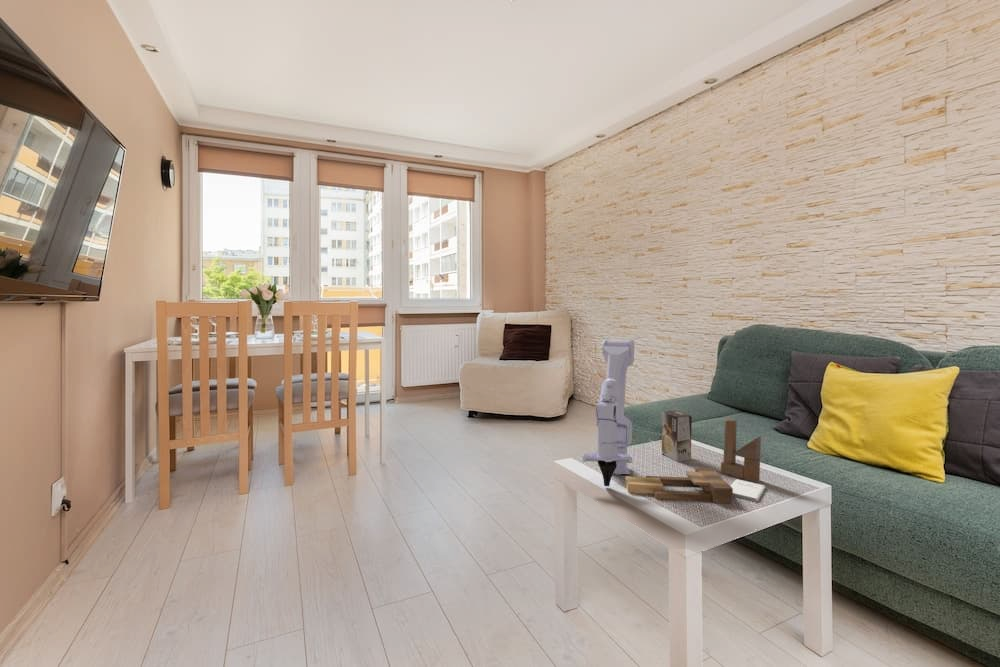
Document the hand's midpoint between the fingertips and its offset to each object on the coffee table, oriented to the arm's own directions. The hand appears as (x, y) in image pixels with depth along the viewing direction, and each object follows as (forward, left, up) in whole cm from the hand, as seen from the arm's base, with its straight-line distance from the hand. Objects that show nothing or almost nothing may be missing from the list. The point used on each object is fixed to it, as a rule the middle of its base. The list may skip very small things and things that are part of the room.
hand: (606, 484), depth 139 cm
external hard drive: (-1, +41, -2) cm, 41 cm away
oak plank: (0, +11, -1) cm, 11 cm away
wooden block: (-13, +44, -1) cm, 46 cm away
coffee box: (-31, +29, -1) cm, 42 cm away
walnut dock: (0, +23, -1) cm, 23 cm away
